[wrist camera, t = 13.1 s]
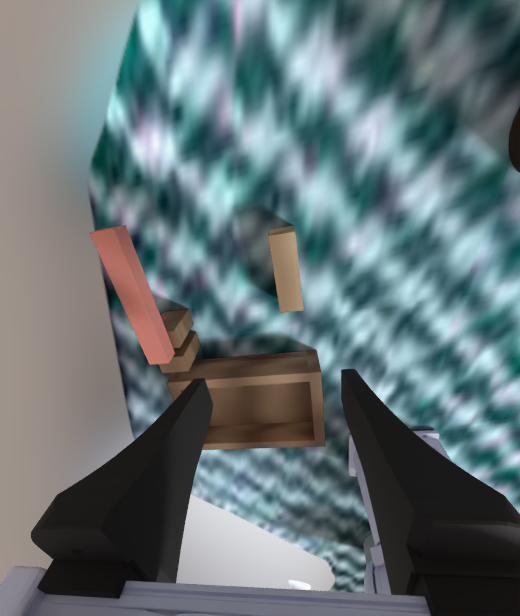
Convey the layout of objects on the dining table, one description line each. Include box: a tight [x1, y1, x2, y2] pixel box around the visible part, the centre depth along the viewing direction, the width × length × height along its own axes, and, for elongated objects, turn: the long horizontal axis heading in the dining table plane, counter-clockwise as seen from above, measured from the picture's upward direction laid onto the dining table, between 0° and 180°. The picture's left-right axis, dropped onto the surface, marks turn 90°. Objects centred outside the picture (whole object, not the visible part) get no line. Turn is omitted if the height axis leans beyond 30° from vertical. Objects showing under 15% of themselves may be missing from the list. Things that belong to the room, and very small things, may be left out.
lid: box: [268, 225, 303, 313], centre depth 19 cm, size 14×9×3 cm
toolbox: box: [159, 309, 325, 450], centre depth 24 cm, size 14×16×4 cm
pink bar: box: [90, 225, 175, 365], centre depth 17 cm, size 2×10×1 cm, turn 9°
